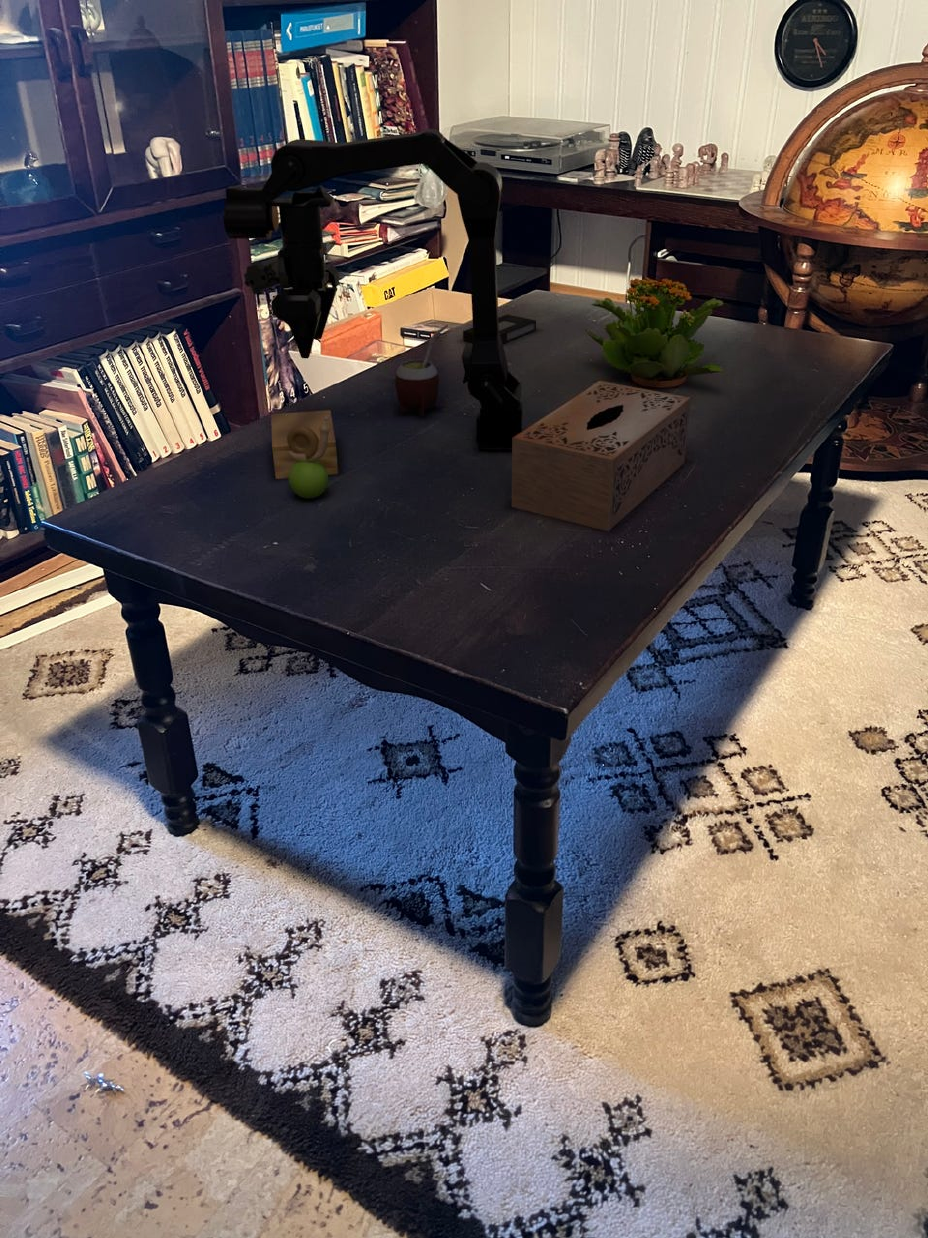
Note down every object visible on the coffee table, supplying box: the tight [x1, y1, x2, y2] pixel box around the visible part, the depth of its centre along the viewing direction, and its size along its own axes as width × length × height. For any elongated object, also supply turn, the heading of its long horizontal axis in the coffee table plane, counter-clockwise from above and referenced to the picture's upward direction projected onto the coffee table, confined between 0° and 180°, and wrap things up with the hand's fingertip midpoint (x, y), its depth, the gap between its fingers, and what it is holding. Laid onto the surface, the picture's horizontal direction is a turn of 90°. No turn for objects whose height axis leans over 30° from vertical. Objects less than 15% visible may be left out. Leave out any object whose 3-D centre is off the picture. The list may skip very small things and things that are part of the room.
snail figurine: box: [287, 415, 330, 499], centre depth 143 cm, size 5×6×12 cm
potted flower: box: [584, 276, 724, 389], centre depth 180 cm, size 25×24×18 cm
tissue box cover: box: [511, 380, 692, 533], centre depth 146 cm, size 26×14×10 cm, turn 148°
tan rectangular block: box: [270, 409, 339, 480], centre depth 156 cm, size 9×13×5 cm
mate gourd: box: [394, 324, 449, 419], centre depth 170 cm, size 8×8×15 cm
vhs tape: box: [462, 314, 537, 345], centre depth 208 cm, size 8×14×2 cm, turn 141°
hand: (311, 348), depth 156 cm, fingers open, 9 cm apart
